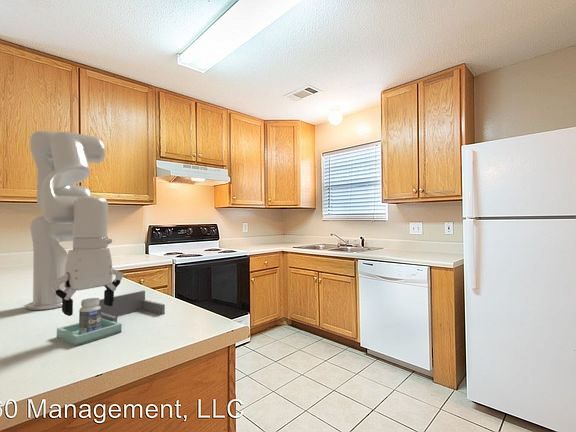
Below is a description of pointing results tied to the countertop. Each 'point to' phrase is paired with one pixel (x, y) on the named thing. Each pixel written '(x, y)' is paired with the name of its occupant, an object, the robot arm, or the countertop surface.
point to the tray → (73, 336)
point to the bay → (129, 305)
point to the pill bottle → (89, 315)
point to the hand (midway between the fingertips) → (89, 309)
